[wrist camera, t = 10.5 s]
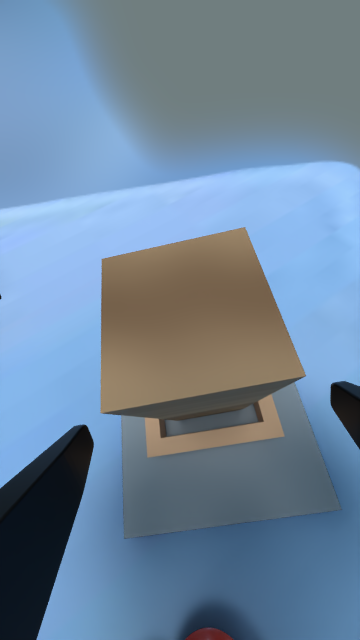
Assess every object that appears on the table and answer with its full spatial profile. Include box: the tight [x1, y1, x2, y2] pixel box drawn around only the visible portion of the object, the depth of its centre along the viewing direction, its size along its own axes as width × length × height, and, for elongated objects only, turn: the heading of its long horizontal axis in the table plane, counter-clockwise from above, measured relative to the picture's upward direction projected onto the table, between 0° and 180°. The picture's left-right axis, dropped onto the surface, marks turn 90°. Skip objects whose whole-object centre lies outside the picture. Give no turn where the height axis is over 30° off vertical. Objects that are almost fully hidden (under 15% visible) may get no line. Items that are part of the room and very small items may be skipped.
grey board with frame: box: [121, 382, 342, 539], centre depth 18 cm, size 18×14×3 cm
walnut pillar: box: [101, 227, 306, 421], centre depth 12 cm, size 5×5×13 cm
